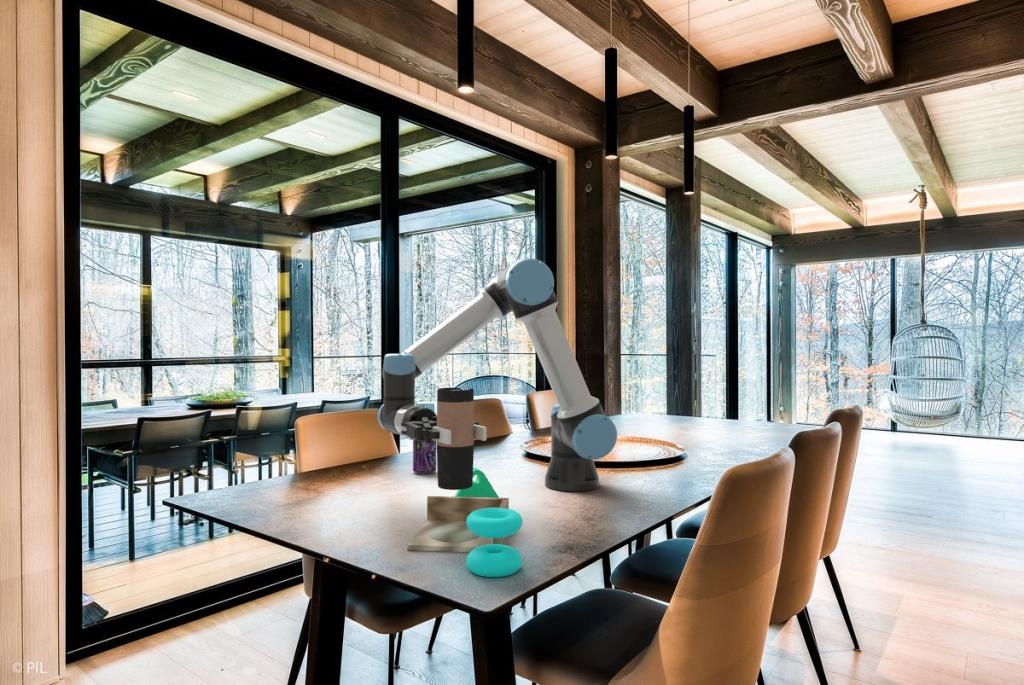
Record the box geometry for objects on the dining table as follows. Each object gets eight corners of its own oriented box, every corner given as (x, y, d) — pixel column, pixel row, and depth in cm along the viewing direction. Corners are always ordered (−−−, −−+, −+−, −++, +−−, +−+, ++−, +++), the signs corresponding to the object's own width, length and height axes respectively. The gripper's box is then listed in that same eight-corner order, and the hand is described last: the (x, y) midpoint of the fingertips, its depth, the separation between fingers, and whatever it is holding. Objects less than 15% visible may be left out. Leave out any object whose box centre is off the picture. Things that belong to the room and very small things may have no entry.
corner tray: (508, 525, 136) (508, 498, 136) (499, 553, 118) (499, 522, 118) (428, 522, 138) (428, 495, 138) (407, 550, 120) (407, 519, 120)
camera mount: (489, 503, 155) (490, 462, 155) (500, 511, 148) (500, 468, 148) (443, 508, 151) (443, 465, 151) (452, 516, 144) (452, 472, 144)
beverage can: (420, 476, 185) (420, 436, 185) (408, 472, 190) (408, 433, 190) (440, 473, 189) (440, 434, 189) (428, 469, 195) (428, 431, 195)
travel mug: (439, 491, 122) (440, 390, 122) (433, 482, 130) (434, 387, 130) (477, 489, 124) (477, 389, 124) (469, 480, 132) (469, 387, 132)
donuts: (458, 518, 107) (476, 504, 116) (458, 576, 107) (476, 557, 116) (514, 523, 104) (528, 507, 114) (514, 582, 104) (527, 562, 114)
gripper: (455, 435, 148) (509, 449, 129) (374, 443, 136) (421, 459, 117) (455, 403, 148) (509, 413, 129) (374, 409, 136) (421, 420, 117)
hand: (467, 435), depth 123 cm, fingers closed on travel mug, 7 cm apart
